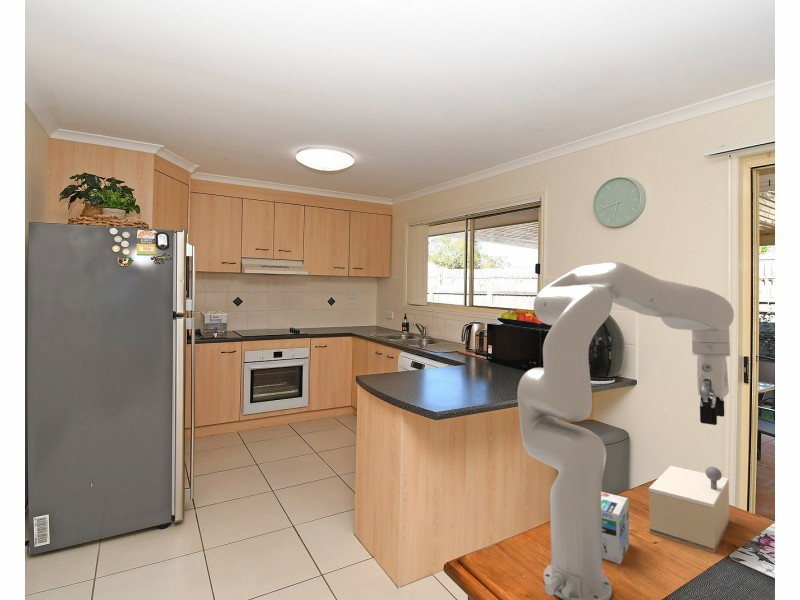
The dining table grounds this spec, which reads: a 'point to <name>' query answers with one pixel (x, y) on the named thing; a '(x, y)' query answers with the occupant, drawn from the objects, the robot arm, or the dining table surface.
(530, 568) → the dining table surface
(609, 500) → the light bulb box
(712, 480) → the flap
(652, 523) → the beige box
